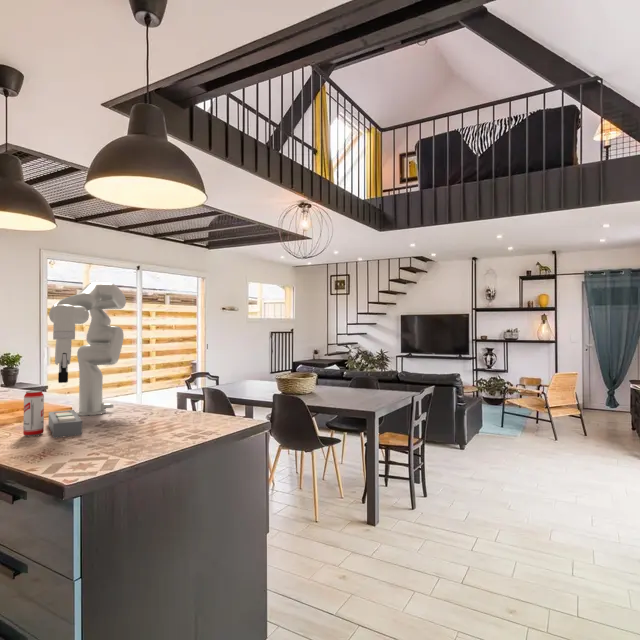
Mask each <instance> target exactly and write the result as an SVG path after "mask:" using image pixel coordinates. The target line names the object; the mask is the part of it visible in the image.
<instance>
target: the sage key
mask: <svg viewBox="0 0 640 640" xmlns="http://www.w3.org/2000/svg"><path fill="white" fill-rule="evenodd" d="M67 416H73V414H72V413H61V414H57V418H58V417H67Z"/></svg>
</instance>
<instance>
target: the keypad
mask: <svg viewBox="0 0 640 640" xmlns="http://www.w3.org/2000/svg"><path fill="white" fill-rule="evenodd" d="M62 412H70V413H72V414H73V416H74V417H75V420H73V421H64V422H58V418H57V415H55V413H62ZM48 427H49V429H50V432H52V433H51V434H52V437H53V438H55V439H56V437H57V438H64V437H63V436H66V437H73V435H74V436H81V434H82V435H83V420H82V419H81V417H80V416H79V415H77V414H76V411H75V409H70V410H69V409H68V410H60V411H59V410H58V411H57V410H56V411H49V412H48Z"/></svg>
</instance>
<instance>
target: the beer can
mask: <svg viewBox="0 0 640 640" xmlns="http://www.w3.org/2000/svg"><path fill="white" fill-rule="evenodd" d="M44 414H45V395H44V393H43V390H37V389H35V390H34V389H33V390H26V391H25V394H24V395H23V425H22V426H23V432H22V433H23V436H25V437H27V436H33V437H38V435H39V436H41V435H42V434H43V433H44V427H45V426H44V425H45V423H44V422H45V421H44V417H45V415H44Z"/></svg>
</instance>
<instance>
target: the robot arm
mask: <svg viewBox="0 0 640 640" xmlns="http://www.w3.org/2000/svg"><path fill="white" fill-rule="evenodd" d="M126 304H127V299H126V295H125V293H123V291H122V290H121V289H120V288H119V287H118V286H117V285H116V284H114V283H111V282H91V283H88V284H87V285H85V287H83V289H81V291H80V292H78V293H76V294H73V295H70V296H67V297H65V298H62V299H59V300H57V301H56V302H55V303H54V304H53V305H52V306H51V308H50V310H49V313H48V317H49V320H50V321H51V322H52V323H53V329H52V330H53V332H52V333H53V334H52V335H53V336H52V340H55V348H54V349H55V352H54V364H55V365H56V366H58V373H57V377H58V381H57V382H58V384H63V383H64V384H67V383H68V382H69V372H68V367H69V365H70V364H71V358H72V340H74V341H75V340H76V325H82V324H84V323H86V322H87V321H88V320H89V317H90V316H91V319H90V323H89V325H88V330H87V334H86V339H85V340H86V343H87V344H84V345H81V346H80V347H79V348H78V349H77V352H76V355H77V356H76V357H77V362H78V371H79V378H78V381H79V382H78V383H79V385H78V386H79V387H78V389H79V392H78V397H79V398H78V410H76V411H75V412H76V414H77V415H78V416H79V417H83V416H84V417H86V416H88V415H90V416H96V414H99V415H102V414H101V413H103V414H105V413H106V412H107V410H106V409H112V408H114V403H104V402H103V381H104V380H103V377H104V375H103V372H102V370H101V369H100V368H99V367H98V366H112V365H116V364H117V363H118V361H119V359H120V356H121V351H122V347H123V343H124V330H123V329H122V328H121V327H120V326H117V325H111V318H110V316H109V315H108V313H106V312H105V310H122V309H124V308H125V307H126Z"/></svg>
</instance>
